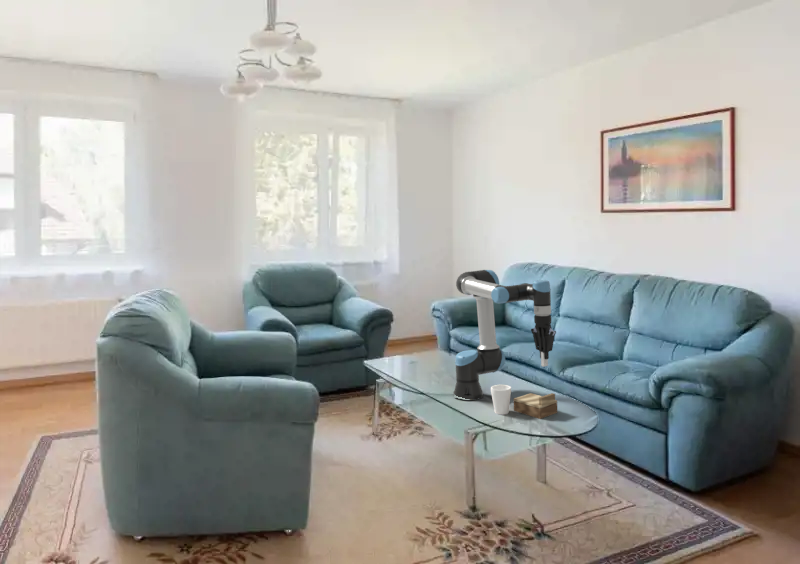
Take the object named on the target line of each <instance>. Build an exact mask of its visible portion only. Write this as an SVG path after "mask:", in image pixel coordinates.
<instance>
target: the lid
mask: <svg viewBox="0 0 800 564" xmlns="http://www.w3.org/2000/svg"><path fill="white" fill-rule="evenodd" d="M514 401H516V402H519V403H523V404H526V405H529V406H533V407H536V408H539V409H540V408H543V407H546V406H549V405H552V404H555V403H557V404H558V400H557V399H556V393H548V394H546V395H538V394H535V393H531V392H530V393H527V394H523V395H521V396H517V397H514V398H513V402H514Z"/></svg>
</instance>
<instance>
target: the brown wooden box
mask: <svg viewBox="0 0 800 564" xmlns="http://www.w3.org/2000/svg"><path fill="white" fill-rule="evenodd" d="M513 411H514V412H516V413H519V414H523V415H526V416H529V417H532V418H535V419H539V420H541V419H544V418H546V417H550V416H552V415H556V414H557V413H558V402H557V403H555V404H552V405H549V406H546V407H543V408H540V409H539V408H536V407H533V406H529V405H526V404H523V403H519V402H516V401H514V400H513Z"/></svg>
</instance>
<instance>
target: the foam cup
mask: <svg viewBox="0 0 800 564" xmlns="http://www.w3.org/2000/svg"><path fill="white" fill-rule="evenodd" d="M511 393H512V386H510V385H508V384H495V385H492V386H490V394H491V398H492V405H493V410H494V413H495V414H496V415H501V416H502V415H503V416H505V415H508V414H509V412H510V404H511Z"/></svg>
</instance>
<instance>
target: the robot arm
mask: <svg viewBox="0 0 800 564" xmlns="http://www.w3.org/2000/svg"><path fill="white" fill-rule="evenodd" d="M455 285H456V290H457V291H458V292H460V293H461V294H463V295H467V296H473V298H474V299H475V300H476V310H477V311H476V313H477V324H478V336H479V337H478V338H479V339H478V340H479V345H478V346H477V347H476V348H477V349H469V350H467V349H466V350H463V351H460V352H458V353H457V354H456V355H455V360H454V361H455V362H454V363H455V380H456V381H455V388H454V391H453V395H454V394H455V395H456V396H458V397H462V398H465V399H476V400H479V399H478V398H480V399H481V397H482V398H483V397H484V395H483V394H484V392H483V389H482V386H481V384H480V380H479V379H480V377H479V375H480V376H481V375H485V374H490V373H496V372H500V371H501V370H503V368H504V366H505V364H506V355H505V353H504V351H503V349H501V348H500V345H498V344H497V338H496V336H497V335H496V333H497V332H496V323H495V320H496V319H495V310H494V307H495V306H494V304H497V305H498V304H500V305H501V304H508V303H515V302H521V301H533V313H534V316H533V320H534V324H535V325H534V327H533V328H531V329H530V331H531V334H532V336H533V341H534V346H535V349H536V351H538V352H539V358H540V364H541V367H543V368H544V367H547V366H549V363H548V362H549V360H548V359H549V358H550V357H549V353H550V352H551V351H553V347H554V341H555V336H556V334H557V331H556V330H553V329H552V325H551V324H552V315H551V314H552V306H551V305H552V304H551V303H552V302H551V301H552V298H551V290H552V289H551V283H550V281H549V280H546V279H544V280H543V279H539V280H534V281H533V282H532V283H526V282H523V283H519V284H514V285H503V284H500V279H499V276H498V275H497V273H496V272H495V271H494V270H492V269H480V270H473V271H472V270H471V271H465V272H463V273H461V274H460V275H459V276H458V277H457V278H456V282H455Z"/></svg>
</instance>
